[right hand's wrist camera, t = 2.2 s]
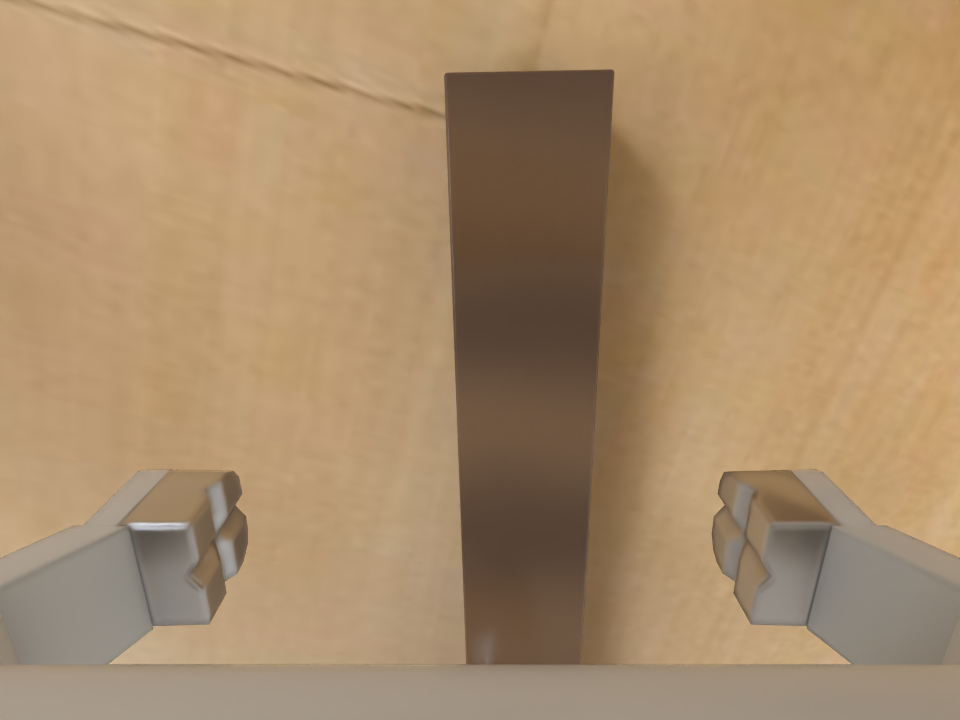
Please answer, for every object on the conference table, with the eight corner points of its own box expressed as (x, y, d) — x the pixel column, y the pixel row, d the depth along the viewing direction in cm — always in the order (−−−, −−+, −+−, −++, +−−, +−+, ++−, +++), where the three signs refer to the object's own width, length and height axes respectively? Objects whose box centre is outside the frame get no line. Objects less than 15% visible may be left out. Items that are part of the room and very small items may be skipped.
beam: (449, 85, 24) (443, 72, 18) (573, 83, 25) (615, 69, 18) (477, 884, 44) (479, 1025, 37) (546, 882, 44) (561, 1021, 37)
